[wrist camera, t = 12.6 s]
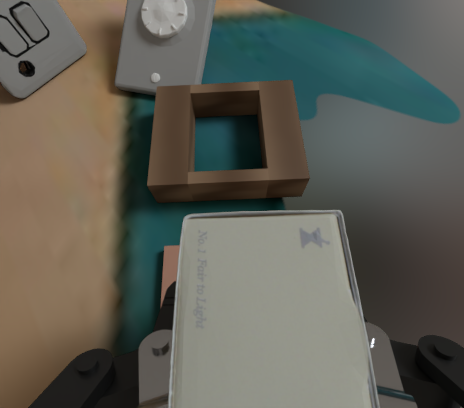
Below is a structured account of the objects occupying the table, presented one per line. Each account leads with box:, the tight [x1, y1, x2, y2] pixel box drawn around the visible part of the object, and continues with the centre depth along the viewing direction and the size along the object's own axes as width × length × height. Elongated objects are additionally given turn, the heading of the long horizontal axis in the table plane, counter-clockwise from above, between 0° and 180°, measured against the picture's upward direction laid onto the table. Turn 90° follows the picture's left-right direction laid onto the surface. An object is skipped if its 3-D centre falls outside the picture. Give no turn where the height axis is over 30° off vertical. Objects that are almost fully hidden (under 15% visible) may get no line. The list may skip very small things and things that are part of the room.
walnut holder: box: [147, 80, 310, 203], centre depth 24 cm, size 12×10×3 cm
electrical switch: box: [0, 0, 86, 98], centre depth 27 cm, size 9×5×9 cm, turn 143°
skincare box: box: [168, 210, 380, 408], centre depth 12 cm, size 6×4×12 cm
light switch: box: [115, 0, 216, 96], centre depth 29 cm, size 8×6×14 cm
